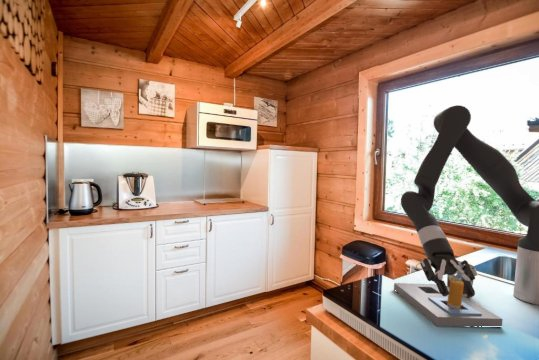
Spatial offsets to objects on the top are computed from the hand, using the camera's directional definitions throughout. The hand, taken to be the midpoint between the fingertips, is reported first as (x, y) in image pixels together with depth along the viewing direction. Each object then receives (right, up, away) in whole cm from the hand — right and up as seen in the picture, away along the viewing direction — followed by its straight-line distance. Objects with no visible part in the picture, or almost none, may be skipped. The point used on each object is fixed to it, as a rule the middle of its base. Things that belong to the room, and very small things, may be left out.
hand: (459, 295), depth 77 cm
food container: (+13, -7, +18) cm, 23 cm away
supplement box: (0, -7, +2) cm, 7 cm away
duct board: (-1, -6, +7) cm, 9 cm away
